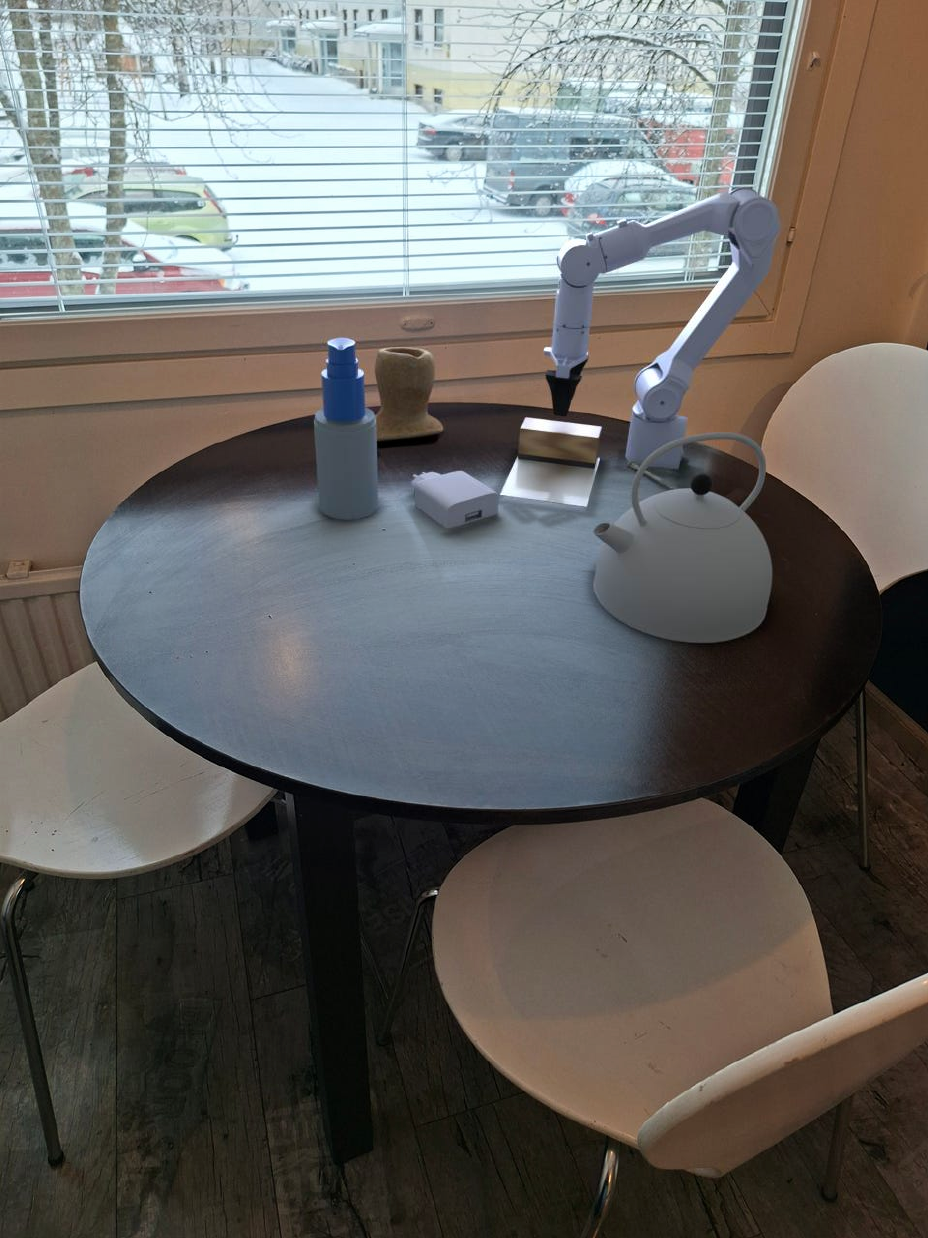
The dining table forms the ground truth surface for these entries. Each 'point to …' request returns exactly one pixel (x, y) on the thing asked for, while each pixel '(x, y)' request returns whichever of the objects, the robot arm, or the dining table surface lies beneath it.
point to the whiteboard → (550, 482)
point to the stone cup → (404, 393)
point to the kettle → (686, 560)
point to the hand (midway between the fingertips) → (563, 406)
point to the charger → (454, 498)
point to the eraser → (559, 442)
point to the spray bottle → (345, 438)
